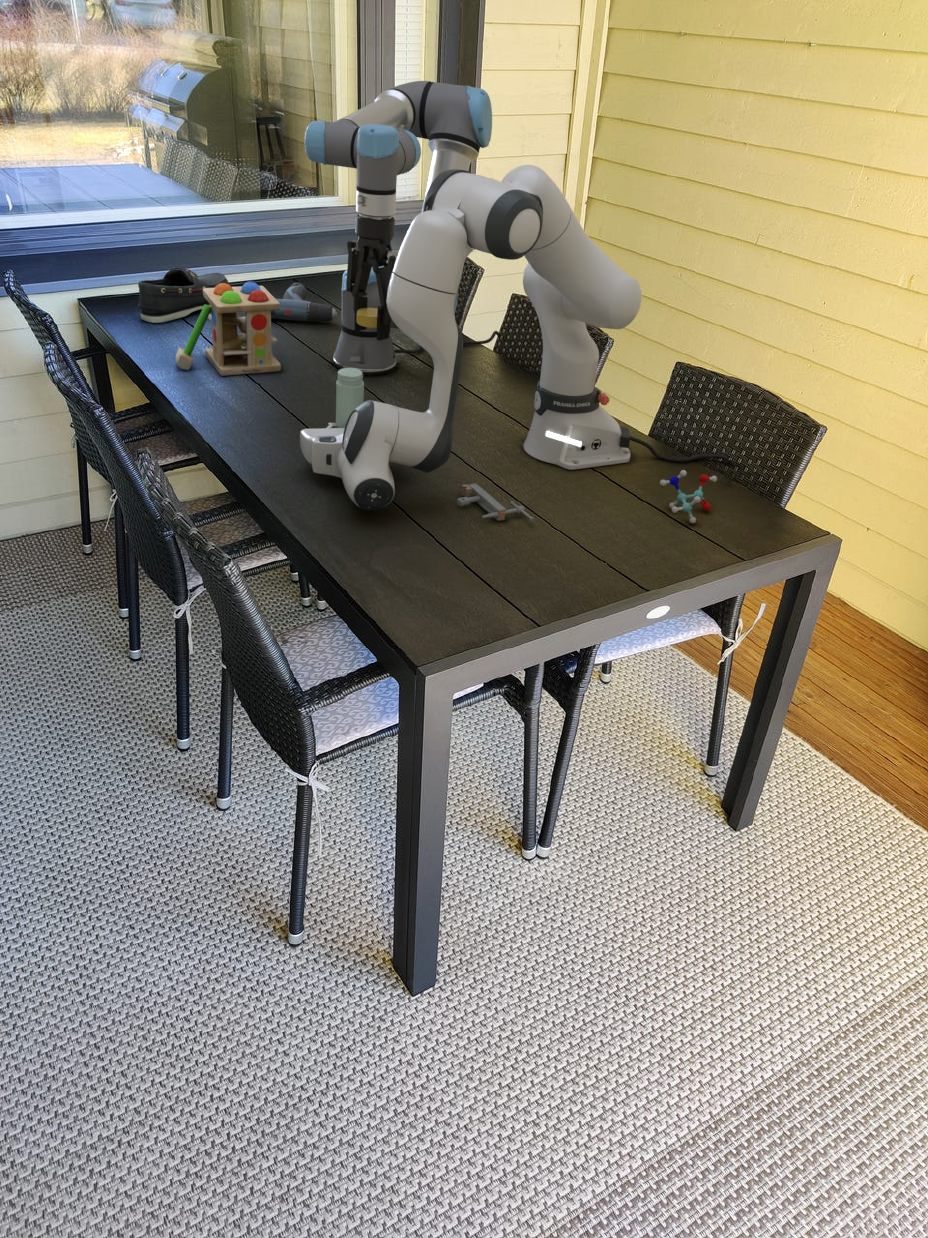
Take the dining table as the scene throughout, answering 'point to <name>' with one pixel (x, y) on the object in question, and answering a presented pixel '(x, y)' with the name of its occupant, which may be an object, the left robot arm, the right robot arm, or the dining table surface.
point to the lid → (367, 317)
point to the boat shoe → (175, 294)
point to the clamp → (488, 503)
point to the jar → (348, 394)
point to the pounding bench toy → (229, 347)
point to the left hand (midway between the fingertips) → (371, 334)
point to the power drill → (301, 307)
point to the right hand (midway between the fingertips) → (348, 425)
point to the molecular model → (683, 497)
